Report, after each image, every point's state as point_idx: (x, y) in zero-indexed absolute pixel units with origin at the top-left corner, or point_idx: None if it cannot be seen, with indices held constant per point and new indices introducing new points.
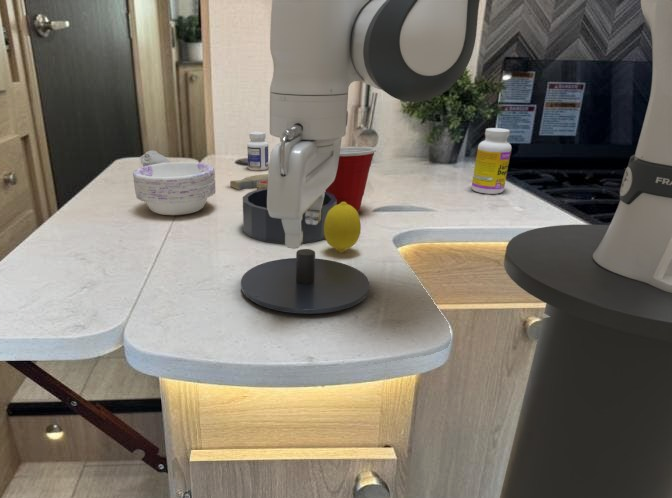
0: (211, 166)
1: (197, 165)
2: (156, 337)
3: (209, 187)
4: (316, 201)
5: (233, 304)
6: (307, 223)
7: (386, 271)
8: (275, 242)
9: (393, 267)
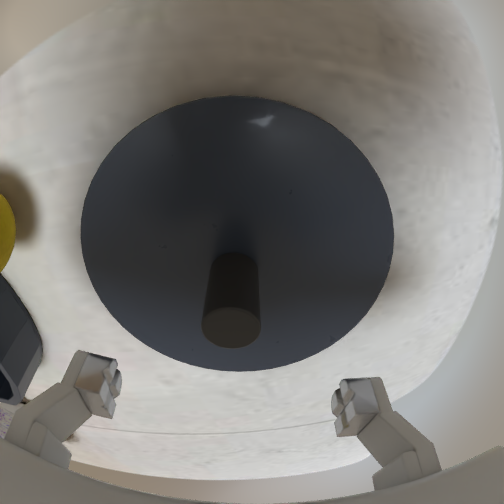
0: None
1: None
2: (404, 384)
3: (4, 420)
4: (58, 418)
5: (322, 353)
6: (120, 379)
7: (68, 74)
8: (36, 329)
9: (43, 65)
